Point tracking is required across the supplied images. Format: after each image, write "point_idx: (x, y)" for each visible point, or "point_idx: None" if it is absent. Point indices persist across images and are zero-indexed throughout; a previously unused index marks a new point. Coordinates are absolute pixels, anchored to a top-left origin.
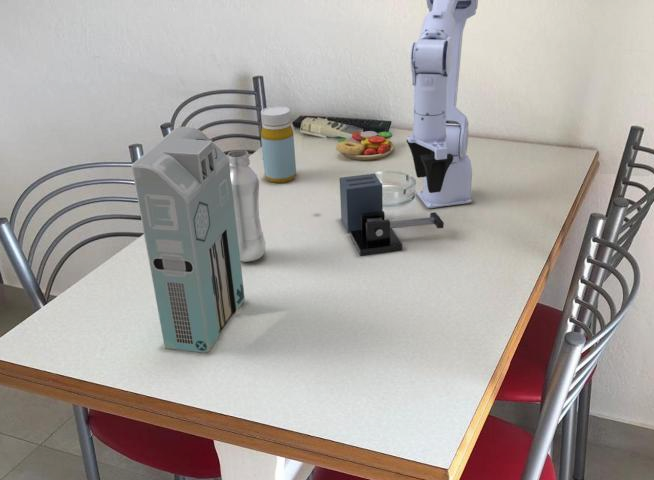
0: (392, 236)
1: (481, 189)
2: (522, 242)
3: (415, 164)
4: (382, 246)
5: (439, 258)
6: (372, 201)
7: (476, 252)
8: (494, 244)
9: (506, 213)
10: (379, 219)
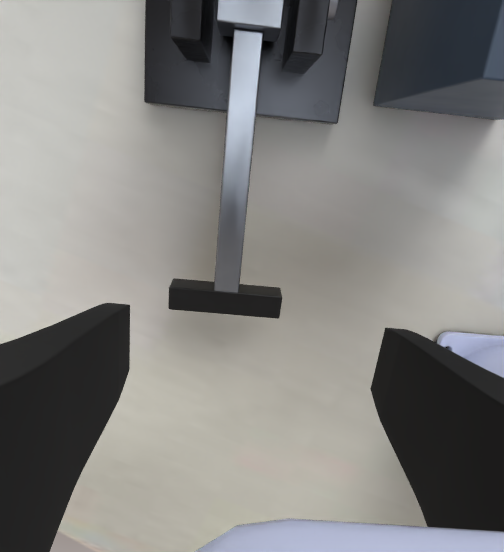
0: None
1: None
2: (91, 476)
3: (437, 363)
4: (151, 2)
5: (45, 214)
6: (443, 22)
7: None
8: None
9: (289, 511)
10: (257, 5)
